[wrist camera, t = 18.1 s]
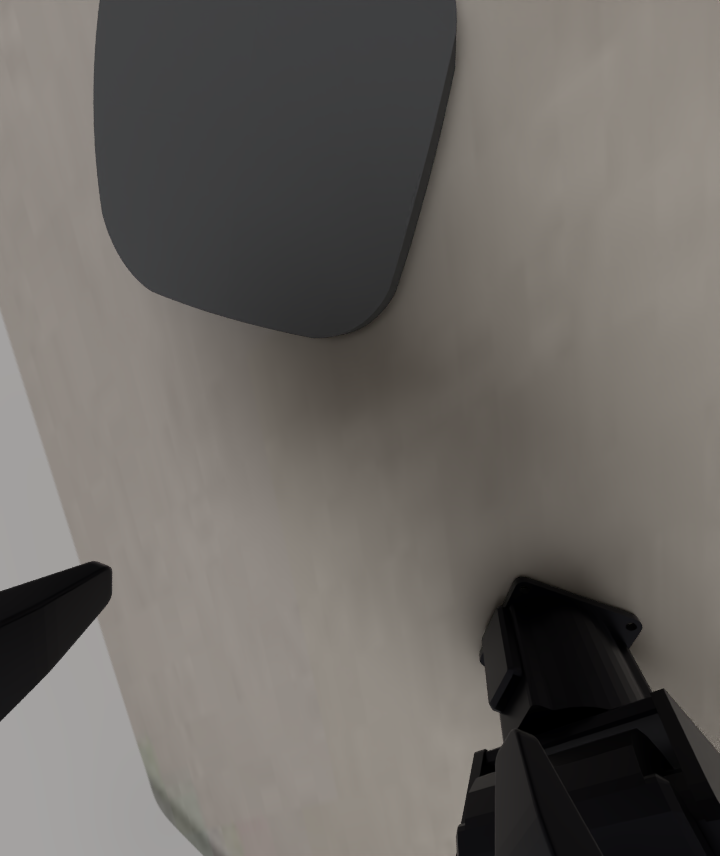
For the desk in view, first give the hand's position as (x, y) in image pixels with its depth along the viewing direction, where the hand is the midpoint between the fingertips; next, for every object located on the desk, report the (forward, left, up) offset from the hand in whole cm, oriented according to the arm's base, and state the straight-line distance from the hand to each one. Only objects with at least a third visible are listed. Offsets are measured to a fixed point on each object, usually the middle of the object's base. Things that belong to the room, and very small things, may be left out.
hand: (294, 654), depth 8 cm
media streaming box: (+9, -12, -14) cm, 20 cm away
